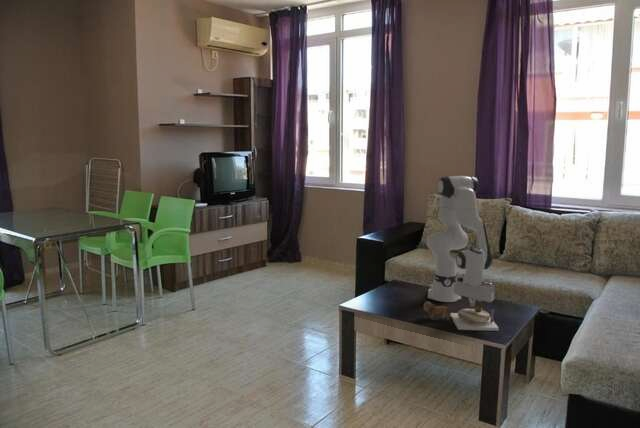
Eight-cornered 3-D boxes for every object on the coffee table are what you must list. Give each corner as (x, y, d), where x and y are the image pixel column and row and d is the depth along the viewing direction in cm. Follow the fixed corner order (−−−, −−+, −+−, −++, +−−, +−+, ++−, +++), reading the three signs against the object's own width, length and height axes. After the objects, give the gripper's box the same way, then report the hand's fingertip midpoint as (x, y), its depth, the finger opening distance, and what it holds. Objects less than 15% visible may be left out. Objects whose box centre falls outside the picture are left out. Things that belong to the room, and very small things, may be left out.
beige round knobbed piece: (467, 308, 266) (467, 296, 265) (495, 314, 257) (496, 302, 256) (453, 317, 253) (453, 304, 252) (482, 324, 244) (483, 311, 243)
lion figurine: (424, 320, 257) (424, 303, 256) (421, 316, 262) (422, 300, 261) (453, 320, 257) (454, 303, 256) (450, 316, 263) (451, 300, 261)
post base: (450, 315, 264) (450, 301, 263) (487, 316, 263) (488, 302, 262) (458, 329, 246) (459, 314, 244) (498, 330, 245) (499, 315, 244)
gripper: (497, 282, 253) (495, 309, 255) (458, 274, 266) (456, 300, 268) (492, 285, 248) (490, 312, 251) (452, 277, 261) (451, 303, 264)
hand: (472, 306), depth 260 cm, fingers closed
